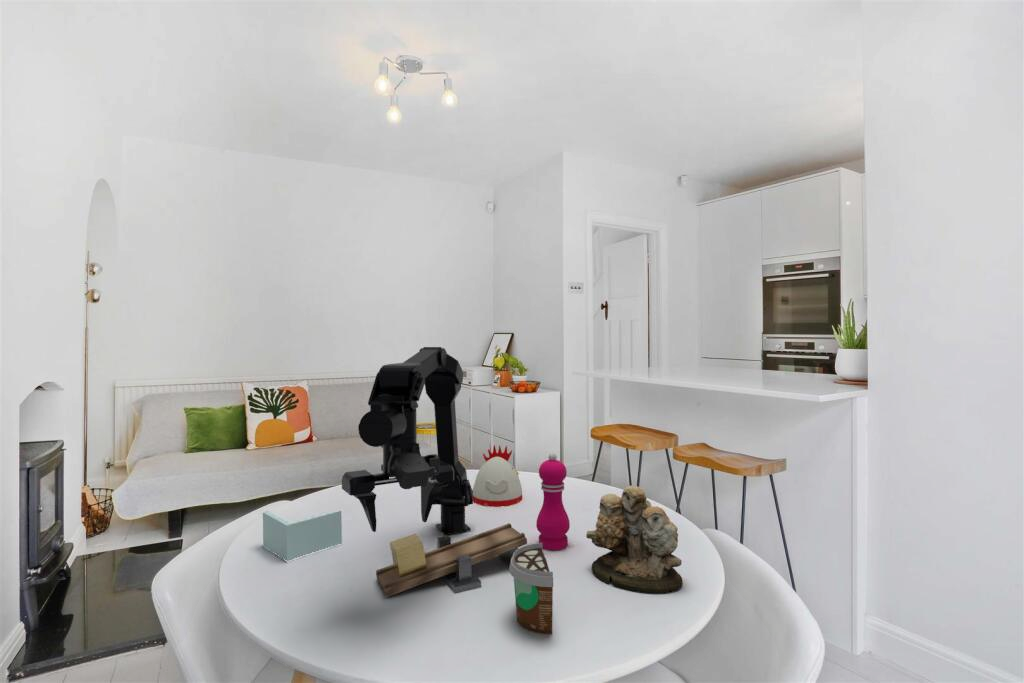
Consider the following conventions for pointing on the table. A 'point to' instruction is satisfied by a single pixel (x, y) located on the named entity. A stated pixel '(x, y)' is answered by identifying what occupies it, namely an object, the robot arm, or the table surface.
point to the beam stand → (466, 569)
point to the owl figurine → (636, 544)
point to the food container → (532, 588)
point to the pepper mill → (553, 506)
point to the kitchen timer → (497, 481)
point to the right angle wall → (301, 534)
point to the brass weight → (408, 555)
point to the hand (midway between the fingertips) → (399, 526)
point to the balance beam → (453, 558)
